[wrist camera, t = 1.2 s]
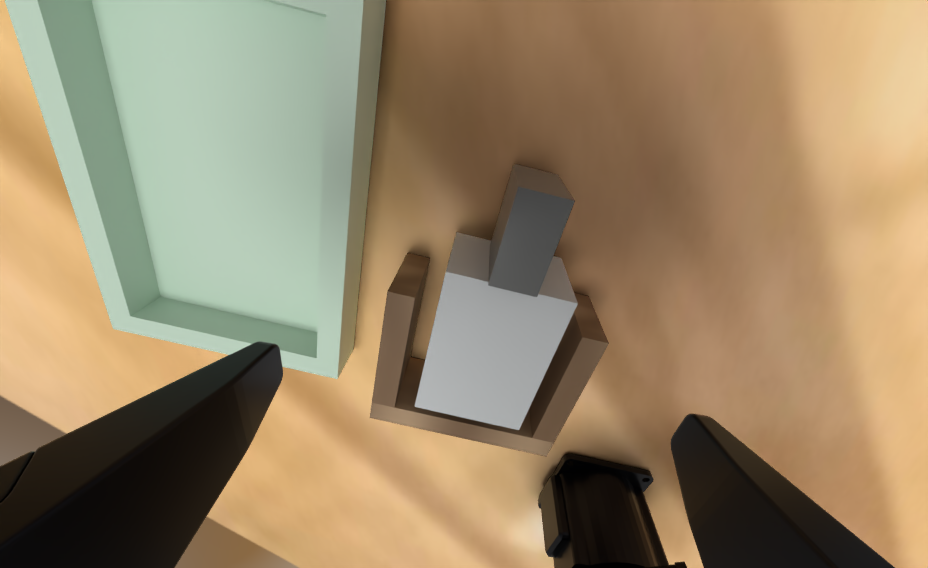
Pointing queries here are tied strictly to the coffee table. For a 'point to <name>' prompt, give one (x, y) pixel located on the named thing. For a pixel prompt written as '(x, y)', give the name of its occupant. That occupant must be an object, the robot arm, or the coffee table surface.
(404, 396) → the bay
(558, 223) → the grey stepped block
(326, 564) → the coffee table surface
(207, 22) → the tray
